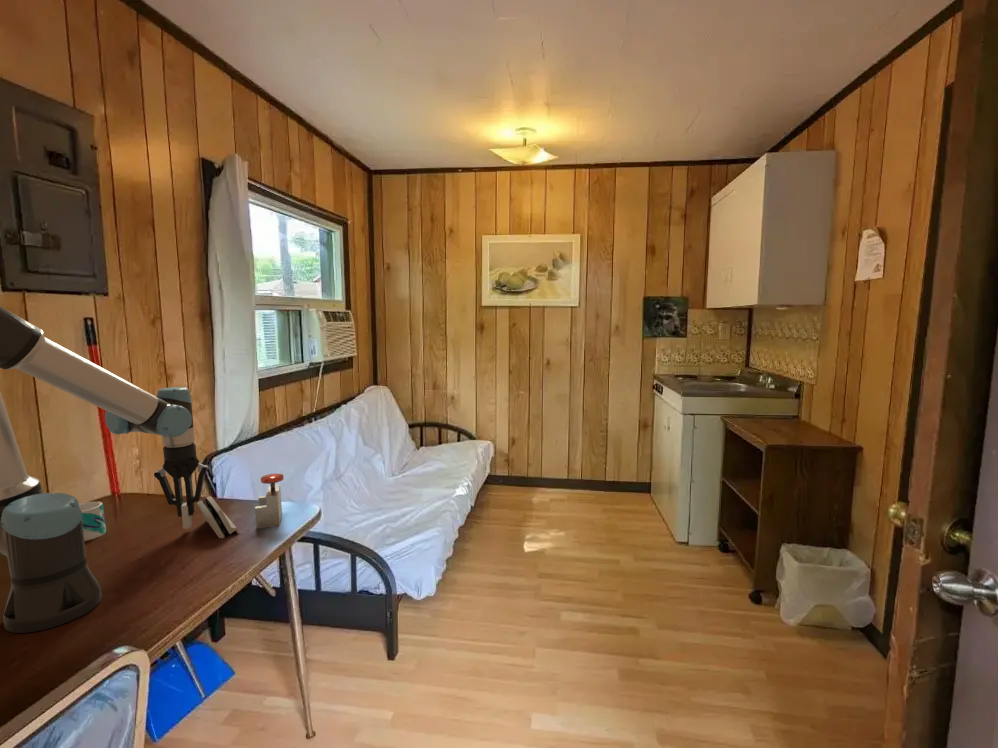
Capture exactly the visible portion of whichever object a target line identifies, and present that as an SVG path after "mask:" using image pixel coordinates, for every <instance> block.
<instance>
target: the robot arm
mask: <svg viewBox="0 0 998 748" xmlns="http://www.w3.org/2000/svg"><path fill="white" fill-rule="evenodd" d="M0 369H2V370H5V371H11V370H18V371H20V372H22V373H24V374H27V375H29V376H31V377H33V378H35V379H37V380H40V381H41V382H44V383H46V384H48V385H50V386H52V387H55V388H57V389H59V390H61V391H63V392H65V393H67V394H69V395H72V396H74V397H76V398H78V399H80V400H82V401H84V402H87V403H89V404H91V405H94V406H95V407H98V408H100V409H101V410H105V413H104V419H105V424H106V427H107V429H108V431H110V433H112V434H113V435H123V434H129V433H134V432H137V433H143V434H150V435H156V436H157V435H158V436H161V441H162V445H163V447H162V453H163V461H164V462H163V465H162V467H161V468H160V469H158V470H156V471H155V472H154V474H153V476H154V478H156V479H157V480H158V482H159V484H160V486H161V489H162V492H163V494H164V496H165V499H166V502H167V503H168V505H170V506H172V505H174V506H176V510H177V512H176V513H177V517H179V518H181V517H182V528H183V529H184V530H186V529H190V528H191V527H192V516H194V513H195V511H196V510H195V503H198V502H200V499H201V497H202V491H203V487H204V482H205V476H206V474H207V473H206V472H207V471H208V470H209V465H208V464H202V463H200V460H199V459H198V456H197V448H196V447H197V446H196V443H195V442H194V441H195V440H196V437H195V427H194V426H195V425H194V418H193V416H194V414H193V406H192V405H193V402H192V398H191V397H192V396H191V395H192V394H191V391H190V389H189V388H188V387H185V386H171V387H164V388H160V389H157V393H156V395H154V394H152V393H150V392H148V391H147V390H144V389H142V388H141V387H139V386H137V385H135V384H133V383H131V382H130V381H128V380H126V379H124V378H122V377H121V376H119V375H116V374H115V373H113V372H111V371H110V370H107V369H106V368H104V367H101V366H100V365H98V364H95V363H94V362H92V361H91V360H89V359H86V358H85V357H83V356H80V355H79V354H78V353H75V352H74V351H72V350H69V349H68V348H66V347H64V346H63V345H60V344H59V343H56V342H54V341H53V340H51V339H49V338H47V337H46V336H45V334H44V331H43V329H41V328H40V327H38V326H37V325H35V324H33V323H31V322H29V321H27V320H26V319H24V318H22V317H21V316H18V315H17V314H15V313H14V312H12V311H10V310H8V309H6V308H5V307H3V306H2V305H0ZM15 435H16V434H15V433H14V430H13V427H12V423H11V420H10V417H9V414H8V411H7V408H6V405H5V401H4V399H3V396H2V392H1V391H0V554H1V555H3V556H5V557H6V558H7V564H8V570H9V577H10V589H9V593H8V597H7V600H6V604H5V608H4V609H3V610H4V611H3V614H2V616H3V617H2V618H3V626H4V629H5V630H6V631H8V632H9V633H16V634H19V633H20V634H24V633H25V634H26V633H33V632H39V631H43V630H48V629H52V628H56V627H58V626H62V625H64V624H67V623H69V622H71V621H74V620H76V619H78V618H80V617H82V616H83V615H86V614H87V613H89V612H91V611H92V610H93V609H95V608H96V607H97V606H98V605H99V604H100V603H101V601H102V598H103V595H102V588H101V586H100V583H99V582H98V579H96V577H95V576H94V574H93V571H91V569H90V567H89V566H88V561H87V553H86V544H85V541H84V534H83V525H82V511H81V509H80V506H79V504H80V503H79V501H78V499H77V498H76V497H75V496H73V495H71V494H68V493H62V492H57V493H56V492H55V493H53V492H44V491H43V486H42V485H41V482H40V479H39V478H37V477H34V476H31V475H29V474H28V473H27V469H26V466H25V462H24V461H23V457H22V453H21V451H20V448H19V444H18V442H17V438H16V436H15ZM196 469H197V472H198V477H197V482H196V487H195V488H196V489H195V493H194V488H193V487H194V486H193V474H194V472H195V471H196ZM167 474H168V475H169V476H170V477H172V482H173V487H174V492H173V490H172V488H171V483H170V482H169V480H168V478H167ZM182 478H183V481H184V486H185V487H184V488H185V496H186V497H185V499H186V502H184V501H185V500H184V495H183V485H182Z"/></svg>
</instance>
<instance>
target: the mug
mask: <svg viewBox="0 0 998 748" xmlns="http://www.w3.org/2000/svg"><path fill="white" fill-rule="evenodd" d="M79 506H80V509H81V511H82V525H83V534H84V542H86V541H90V540H91V541H92V540H94V539H96V538H99V537H102V536H104V535H105V534H106V532H107V527H106V519H105V511H104V504H103V502H101V501H87V502H82V503H79Z"/></svg>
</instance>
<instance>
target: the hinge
mask: <svg viewBox="0 0 998 748" xmlns="http://www.w3.org/2000/svg"><path fill="white" fill-rule="evenodd" d="M196 505H197V506H198V508H199V510H200V511H201V514H202V515H203V517H204V519H205V521H206V522H207V524H208V523H209V524H208V525H209V526H210V528H211V529H212V530H213V532H214V533H215V534H216V536H217V538H219V539H220V538H222V539H223V538H225V536H226V534H227V535H228V534H229V535H231V534H232V533H234V532H236V534H238V533H239V534H241V532H240V530H239V529H238V527H237V526H236V525H235V524H234V523H233V522H232V520H231V519H230V518H229V516H227V515H226V513H225V512H224V511H223V510H222V509H221V507H220V506H219V504H218V503H217V502H216V501H215V499H214V498H213V497H212V496H211V495H209V496H207V497H205V499H204V500H199V501H197V502H196Z"/></svg>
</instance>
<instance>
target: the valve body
mask: <svg viewBox="0 0 998 748" xmlns="http://www.w3.org/2000/svg"><path fill="white" fill-rule="evenodd" d="M283 480H284V474H283V473H270V474H266V475H263V476H261V477H260V483H262V484H265V485H266V484H267V485H268V484H270V485H268V488H267V491H266V495H261V496H258V498H257V499H258V500H257V501H258V505H256V506H254V515H255V527H256V528H255V530H260V529H267V528H274V527H280V526H281V519H282V515H283V509H282V506H283V505H282V497H281V496H282V495H281V484H280V483H279V482H282V481H283ZM276 483H279V484H276ZM266 527H267V528H266ZM259 528H260V529H259Z"/></svg>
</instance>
